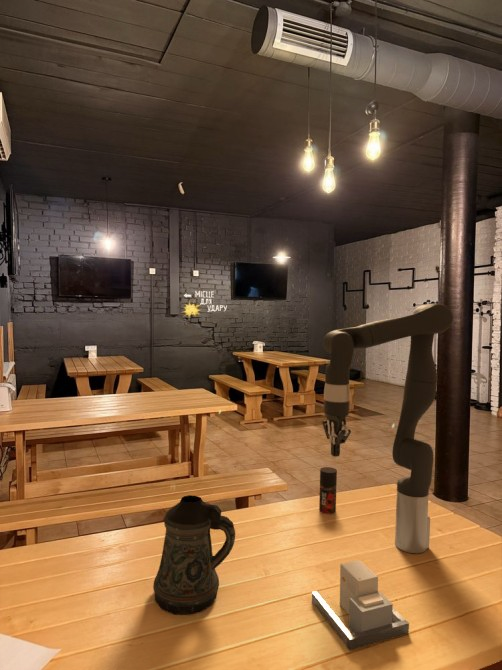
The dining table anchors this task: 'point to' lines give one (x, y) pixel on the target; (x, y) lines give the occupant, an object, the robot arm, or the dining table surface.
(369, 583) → the small box
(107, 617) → the dining table surface
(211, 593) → the beer stein
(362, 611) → the block
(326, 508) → the deodorant
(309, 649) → the dining table surface
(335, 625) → the rail
